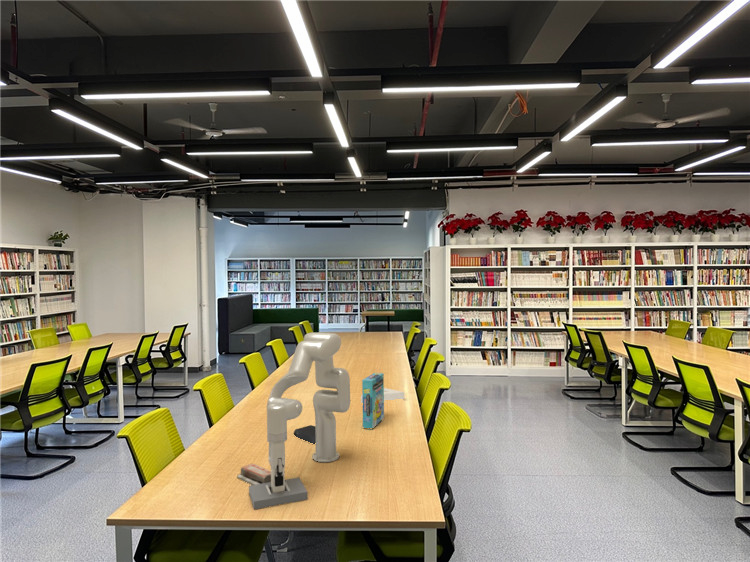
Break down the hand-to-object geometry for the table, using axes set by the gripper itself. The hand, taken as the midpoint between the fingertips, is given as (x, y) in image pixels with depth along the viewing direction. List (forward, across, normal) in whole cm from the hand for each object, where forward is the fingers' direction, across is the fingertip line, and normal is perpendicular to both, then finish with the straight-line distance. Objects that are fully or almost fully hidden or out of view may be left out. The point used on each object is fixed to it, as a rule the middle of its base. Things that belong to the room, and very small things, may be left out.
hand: (277, 482), depth 185 cm
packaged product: (+6, -18, -5) cm, 20 cm away
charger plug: (+4, 0, 0) cm, 4 cm away
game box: (+6, -67, +67) cm, 95 cm away
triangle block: (+6, -112, +86) cm, 141 cm away
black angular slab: (+6, -59, +29) cm, 66 cm away
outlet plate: (+5, 0, 0) cm, 5 cm away
